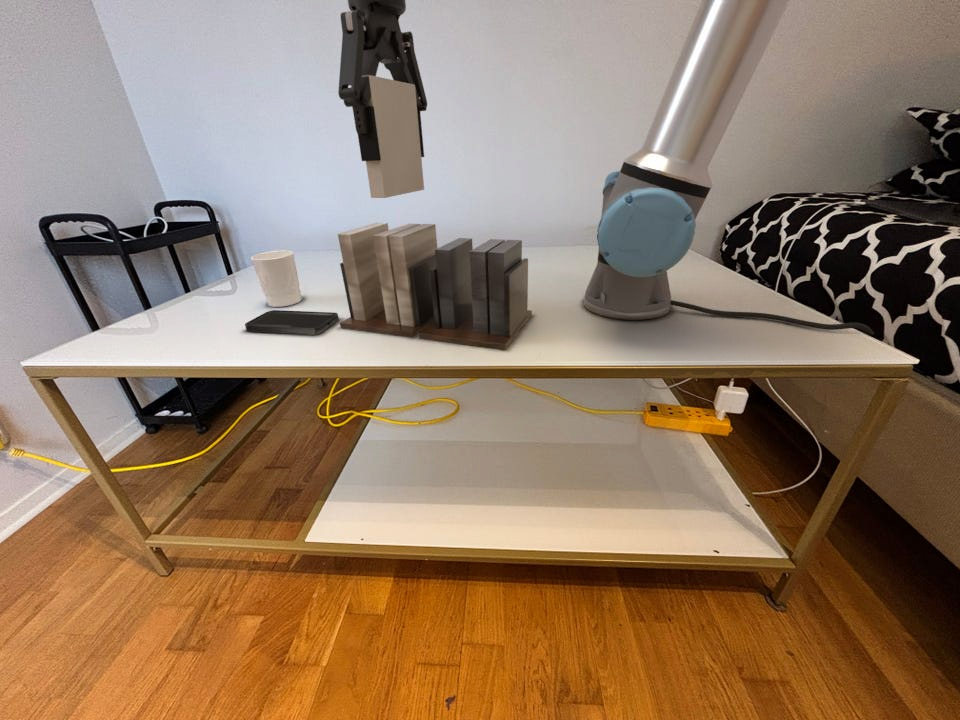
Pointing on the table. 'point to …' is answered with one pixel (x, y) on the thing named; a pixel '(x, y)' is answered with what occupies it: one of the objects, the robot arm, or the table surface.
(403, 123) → the white book
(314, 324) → the phone
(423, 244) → the beige book set
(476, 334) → the grey stand
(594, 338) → the table surface
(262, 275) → the white cup
